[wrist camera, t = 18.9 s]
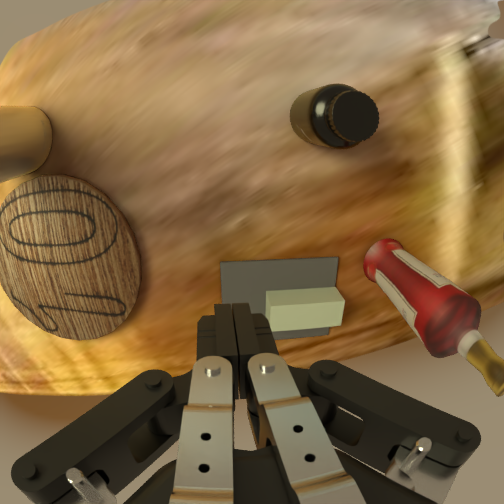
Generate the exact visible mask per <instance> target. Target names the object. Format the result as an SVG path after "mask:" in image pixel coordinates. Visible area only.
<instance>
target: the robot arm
mask: <svg viewBox="0 0 504 504" xmlns="http://www.w3.org/2000/svg"><path fill="white" fill-rule="evenodd" d="M51 144H52V128H51V125H50V121H49V119H48V118H47V116H46V114H45V113H44V112H43V111H42V110H40V109H38V108H36V107H32V106H0V183H2V182H5V181H8V180H10V179H13V178H16V177H19V176H22V175H25V174H28V173H31V172H33V171H35V170H37V169H38V168H39V167H40V166H41V165H42V164H43V163H44V162H45V160H46V158H47V157H48V154H49V152H50V149H51ZM214 308H215V315H210V316H202V317H201V319H200V320H199V321H198V327H197V361H196V363H195V364H194V366H193V369H192V370H191V371H190V372H188V373H186V374H184V375H181V376H177V377H173V378H172V377H171V375H170V374H169V373H167V372H165V371H162V370H148V371H145V372H143V373H141V374H139V375H138V376H137V377H135V378H134V379H133V380H131V381H130V382H128V383H127V384H126V385H124V386H123V387H121V388H120V389H119V390H117V391H116V392H114V393H113V394H112V395H110V396H109V397H108V398H106V399H105V400H103V401H102V402H100V403H99V404H98V405H96V406H95V407H93V408H92V409H91V410H89V411H88V412H86V413H85V414H83V415H82V416H81V417H79V418H78V419H76V420H75V421H73V422H72V423H70V424H69V425H68V426H66V427H65V428H63V429H62V430H60V431H59V432H58V433H56V434H55V435H53V436H52V437H50V438H49V439H47V440H46V441H44V442H43V443H41V444H40V445H38V446H37V447H35V448H34V449H32V450H31V451H30V452H28V453H26V454H25V455H24V456H22V457H20V458H19V459H18V460H16V462H15V463H14V464H13V466H12V470H11V477H12V480H13V482H14V484H15V485H16V486H17V487H18V488H19V489H20V490H21V491H22V492H23V493H24V494H25V495H26V496H27V497H28V499H29V500H30V501H31V502H32V503H34V504H117V500H116V497H115V495H116V494H117V493H119V492H120V491H121V490H122V489H123V488H125V487H126V486H127V485H128V484H129V483H130V482H132V481H133V480H134V479H135V478H136V477H137V476H139V475H140V474H141V473H142V472H143V471H144V470H145V469H146V468H147V467H149V466H150V465H151V464H152V463H153V462H154V461H155V460H157V458H159V457H160V456H161V455H162V454H163V453H164V452H165V451H166V450H168V449H169V448H170V447H171V446H172V445H173V444H174V443H175V442H176V441H177V440H178V439H179V446H178V454H177V459H176V460H174V461H171V462H170V463H168V464H166V465H164V466H163V467H162V468H160V469H159V470H158V471H157V472H156V473H155V474H154V475H152V477H151V478H149V479H148V480H147V481H146V483H144V484H143V485H142V486H141V487H140V488H139V489H138V490H137V491H136V492H135V493H134V494H133V495H132V496H131V497H130V498H129V499H128V500H126V502H124V503H123V504H443V502H444V500H445V498H446V496H447V494H448V492H449V490H450V488H451V486H452V484H453V481H454V479H455V477H456V475H457V473H458V470H459V469H460V468H461V467H462V466H463V465H464V463H465V462H466V461H467V460H468V459H469V457H470V456H471V455H472V454H473V452H474V451H475V450H476V449H477V448H478V446H479V445H480V442H481V435H480V432H479V430H478V429H477V428H476V427H475V426H474V425H473V424H471V423H470V422H467V421H465V420H462V419H460V418H457V417H455V416H453V415H450V414H448V413H446V412H443V411H441V410H439V409H436V408H434V407H432V406H429V405H427V404H425V403H423V402H420V401H418V400H416V399H414V398H412V397H409V396H407V395H405V394H403V393H401V392H398V391H396V390H394V389H392V388H390V387H388V386H386V385H383V384H381V383H379V382H377V381H375V380H373V379H371V378H369V377H367V376H364V375H362V374H360V373H358V372H356V371H354V370H352V369H350V368H348V367H346V366H344V365H342V364H340V363H338V362H336V361H332V360H321V361H317V362H315V363H314V364H312V365H311V367H310V369H301V368H295V367H292V366H289V365H287V364H286V362H285V360H284V359H283V358H282V357H280V356H279V354H278V350H277V347H276V344H275V340H274V337H273V334H272V331H271V328H270V324H269V321H268V319H267V318H266V317H265V316H264V315H263V314H262V313H253V314H251V310H250V306H249V303H232V309H231V303H229V304H214ZM238 386H239V393H240V399H247V415H248V419H249V422H250V426H251V430H252V434H253V437H254V441H255V444H256V448H257V450H254V451H247V450H238V449H234V411H235V399H239V395H238ZM338 406H340V407H342V408H344V409H346V410H347V411H349V412H351V413H353V414H355V415H357V416H359V417H360V418H361V419H363V421H362V420H360V419H358V418H356V417H354V416H353V415H351V414H349V413H347V412H345V411H343V410H341V409H340V408H338ZM332 445H333V446H335V447H337V448H339V449H340V450H342V451H344V452H346V453H348V454H349V455H348V454H346V453H344V452H342V451H340V450H337V449H334V448H333V446H332ZM350 455H351V456H353V457H355V458H356V459H358V460H360V461H362V462H364V463H366V464H368V465H369V466H371V467H373V468H375V469H377V470H379V471H381V472H383V473H385V476H384V475H382V474H381V473H379V472H377V471H375V470H373V469H372V468H370V467H368V466H366V465H365V464H363V463H361V462H360V461H358V460H356V459H354V458H352V457H351V456H350Z"/></svg>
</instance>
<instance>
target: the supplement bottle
mask: <svg viewBox="0 0 504 504" xmlns="http://www.w3.org/2000/svg"><path fill="white" fill-rule="evenodd" d="M290 122H291V125H292V128H293V130H294V131H295V133H296V134H297V135H298V136H299V137H300V138H302V139H303V140H305V141H307V142H309V143H312V144H316V145H321V146H325V147H330V148H334V149H348V148H352V147H354V146H356V145H358V144H359V143H360V142H362V141H363V140H364V141H365V140H366V139H368V138H370V136H372V135H373V134H374V132H376V129H377V128H378V124H379V112H378V108H377V107H376V104H375V103H374V102H373V100H372V99H371V98H370V97H369V96H367V95H366V94H365V93H362V92H361V91H357V90H356V89H354V88H353V87H351V86H348V85H345V84H330V85H326V86H323V87H319V88H316V89H313V90H310V91H307V92H305V93H303V94H301V95H300V96H299V97H297V98H296V100H295V101H294V103H293V104H292V107H291V110H290Z"/></svg>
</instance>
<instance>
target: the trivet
mask: <svg viewBox="0 0 504 504" xmlns="http://www.w3.org/2000/svg"><path fill="white" fill-rule="evenodd" d="M141 279H142V278H141V256H140V253H139V249H138V246H137V242H136V239H135V235H134V233H133V231H132V229H131V228H130V226H129V224H128V222H127V220H126V219H125V217H124V215H123V213H122V212H121V211H120V210H119V208H118V207H117V206H116V205H115V204H114V203H113V202H112V201H111V200H110V199H109V198H108V196H107V195H106V194H105V193H103V192H102V191H100V190H99V189H97V188H96V187H94V186H92V185H91V184H89V183H88V182H86V181H84V180H81V179H78V178H75V177H71V176H68V175H65V174H61V175H43V176H40V177H37V178H35V179H32V180H29V181H27V182H24V183H22V184H20V185H19V186H18V187H17V188H16V189H14V190H13V191H12V192H11V193H10V194H9V195H8V196H7V197H6V198H5V200H4V202H3V203H2V205H1V207H0V283H1V285H2V287H3V289H4V291H5V293H6V294H7V296H8V297H9V299H10V300H11V302H12V303H13V305H14V306H15V307H16V308H17V309H18V310H19V311H20V312H21V313H22V314H23V315H24V316H25V317H26V318H27V319H28V320H29V321H31V322H32V323H34V324H35V325H36V326H38V327H39V328H41V329H42V330H44V331H46V332H49V333H51V334H54V335H56V336H59V337H61V338H67V339H74V340H87V339H96V338H99V337H101V336H103V335H106V334H108V333H111V332H112V331H114V330H115V329H116V328H117V327H118V326H119V325H120V324H122V323H123V322H124V321H125V320H126V318H127V316H128V315H129V313H130V311H131V310H132V308H133V306H134V305H135V302H136V300H137V296H138V292H139V288H140V283H141Z"/></svg>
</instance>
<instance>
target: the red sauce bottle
mask: <svg viewBox="0 0 504 504" xmlns="http://www.w3.org/2000/svg"><path fill="white" fill-rule="evenodd" d="M363 267H364V273H365V275H366V277H367V278H368V279H369V280H371V281H373V282H375V283H377V284H378V285H379V286H380V288H381V289H382V290H383V291H384V292H385V294H386V295H387V296H388V297H389V299H390V300H391V301H392V302H393V304H394V305H395V306H396V308H397V309H398V310H399V312H400V313H401V314H402V316H403V317H404V319H405V320H406V321H407V323H408V324H409V326H410V327H411V328H412V330H413V331H414V332H415V333H416V335H417V336H418V337H419V339H420V340H421V341H422V343H423V344H424V345H425V347H426V348H427V350H428V351H429V352H430V354H431V355H432V356H434V357H437V358H444V357H447V356H450V355H454V354H456V353H460V354H461V355H462V356H463V357H464V358H465V359H466V360H467V361H468V362H470V363H471V364H472V365H473V366H474V367H475V368H476V369H477V370H478V371H480V372H481V373H482V375H483V377H484V379H485V381H486V383H487V384H488V386H489V387H490V388H491V389H492V391H493V392H494V393H495V394H496V396H498V397H499V396H502V395H503V394H504V360H503V359H502V358H500V357H499V356H497V354H496V353H495V352H494V351H493V349H492V348H491V347H490V346H489V344H488V343H487V342H486V340H485V339H484V338H483V337H482V336H481V334H480V333H479V332H478V331H477V329H478V327H479V322H480V317H481V307H480V304H479V302H478V301H477V300H476V299H475V298H473V297H472V296H470V295H469V294H468V293H466V292H465V291H463V290H462V289H461V288H459V287H458V286H457V285H455V284H454V283H453V282H451V281H450V280H448V279H447V278H445V277H444V276H442V275H441V274H439V273H438V272H436V271H435V270H433V269H431V268H430V267H428V266H427V265H425V264H424V263H422V262H421V261H420V260H418V259H417V258H415V257H414V256H412V255H411V254H409V253H408V252H407V251H405V250H404V249H403V247H402V245H401V244H400V243H399V242H398V241H396V240H394V239H383V240H380V241H378V242H377V243H375V244H374V245H373V246H372V247H371V248H370V249H369V250H368V252H367V254H366V256H365V259H364V264H363Z"/></svg>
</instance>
